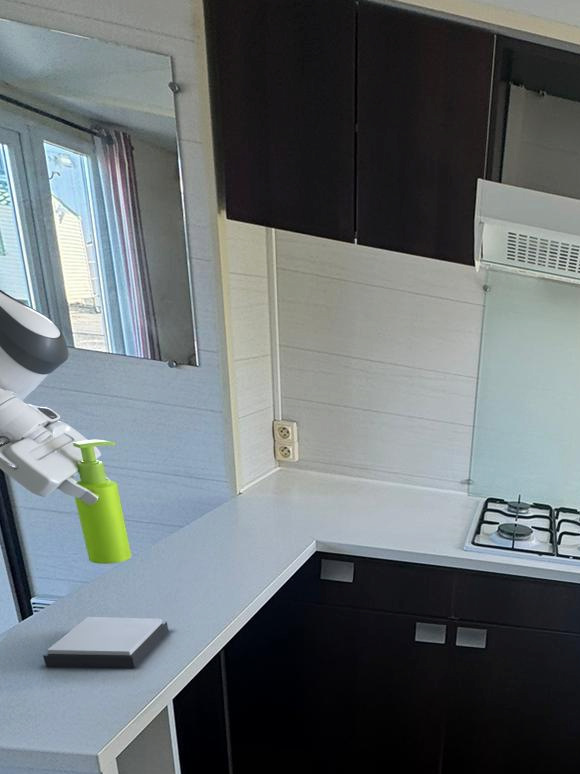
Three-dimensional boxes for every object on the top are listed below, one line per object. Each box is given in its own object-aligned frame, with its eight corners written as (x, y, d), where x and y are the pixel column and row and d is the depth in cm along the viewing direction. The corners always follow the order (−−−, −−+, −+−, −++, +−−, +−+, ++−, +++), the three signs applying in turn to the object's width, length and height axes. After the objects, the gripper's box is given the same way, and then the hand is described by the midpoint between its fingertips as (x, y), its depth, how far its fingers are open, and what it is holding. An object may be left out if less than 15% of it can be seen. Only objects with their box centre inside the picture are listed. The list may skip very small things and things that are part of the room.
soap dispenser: (145, 556, 111) (123, 442, 103) (102, 566, 105) (76, 446, 97) (124, 548, 113) (101, 436, 105) (81, 558, 107) (53, 440, 99)
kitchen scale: (46, 667, 103) (41, 651, 102) (89, 629, 114) (86, 615, 113) (134, 668, 106) (131, 653, 104) (168, 631, 117) (166, 617, 116)
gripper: (-5, 431, 88) (94, 500, 96) (55, 406, 105) (135, 466, 113) (-36, 461, 88) (66, 528, 96) (29, 431, 106) (111, 490, 113)
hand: (104, 494), depth 104 cm, fingers closed on soap dispenser, 6 cm apart
